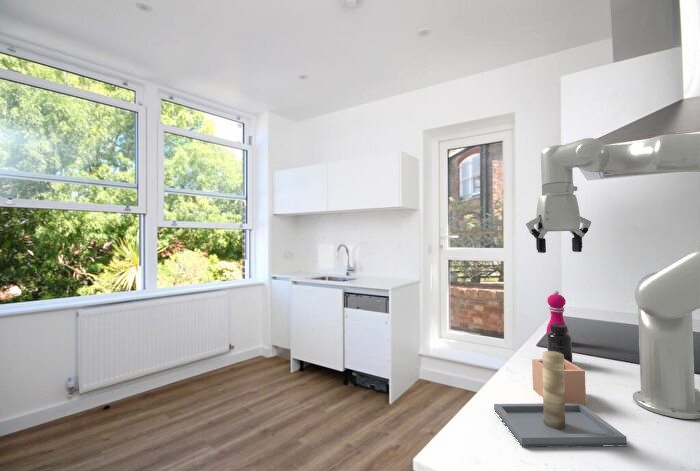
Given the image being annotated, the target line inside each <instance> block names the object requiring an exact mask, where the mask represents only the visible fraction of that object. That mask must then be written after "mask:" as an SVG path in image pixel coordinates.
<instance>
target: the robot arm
mask: <svg viewBox="0 0 700 471" xmlns="http://www.w3.org/2000/svg"><path fill="white" fill-rule="evenodd" d="M540 152H541V153H540V167H541V168H540V171H541V174H540V175H541V196H539V197H538V200H537V207H536V216H535V218H533V219H531V220H530V221H527V222H526V223H525V226H526V227H527V230H528V231H529V232H528V233H530V234H531V235H532V236H533V237H534V239H535V240H536V241H535V242H536V244H535V246H536V250H537V253H540V254H544V253H545V254H546V253H547V246H546V245H547V244H546V241H547V240H546V238H545V236H546V235H547V233H548V232H569V233H570V234H571V235H572V236H573V237H571V251H572V252H573V253H574V252H575V253H581V252H582V250H583V238H584V237H585V235H586V233H588V231H589V229H590V227H591V225H592V221H591V220H589V219H587V218H585V217H582V216H581V214H580V208H579V203H578V199H577V198H578V197H577V196H576V194H574V193H575V192H577V191H578V186H577V185H576V186H575V184H574V178H573V177H574V176H573V175H574V174H573V173H574V172H573V169H574V168H577V169H581V170H583V171H585V172H588V173H653V172H655V173H656V172H657V173H658V172H660V173H662V172H663V173H664V172H668V173H669V172H670V173H671V172H673V173H675V172H677V173H679V172H681V173H682V172H684V173H686V172H687V173H688V172H689V173H690V172H691V173H692V172H693V173H696V172H697V173H700V133H678V134H676V133H675V134H674V133H673V134H660V135H657V136H654V137H651V138H649V139H646V140H644V141H640V142H634V143H626V144H624V143H623V144H603V142H602V141H600V140H599V139H597V138H593V137H585V138H582V139H577V140H575V141H572V142H569V143H566V144H557V145H551V146H548V147H545V148H543V149H542V151H540ZM581 224H582V227H581ZM535 226H536V227H535ZM634 300H635V302H636V305H637V307H638V308H637V309H638V312H637V314H638V346H639V347H638V351H639V373H640V379H639V380H640V390H637V391H635V392H633V394H632V399H633V401H634V402H635V403H636V405H638V406H640V407H641V408H644V409H646V410H648V411H649V412H652V413H656V414H659V415H663V416H666V417H669V418H670V417H671V418H675V419H676V418H677V419H685V420H697V419H698V420H699V419H700V390H699V389H698V388H695V387H696V386H695V385H696V384H695V382H696V381H695V361H694V360H695V359H694V357H695V356H694V355H695V354H694V330H693V327H694V326H693V312H695V311H697V310H698V309H700V245H699V246H697V247H695V248H693V249H691V251H689V252H688V253H687V254H686V255H685V256H683V257H681V258H679V259H678V260H676V261H674V262H673V263H671V264H669V265H667V266H666V267H664V268H663V269H660V270H659V271H654V272H651V273H649V274H646V275H645V276H643V277H642V278H641V279H640V281H639V282H638V284H637V285H636V287H635V290H634Z"/></svg>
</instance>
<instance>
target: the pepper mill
mask: <svg viewBox="0 0 700 471" xmlns="http://www.w3.org/2000/svg"><path fill="white" fill-rule="evenodd" d="M547 304H548V305H549V307H548V308H549V312H550V319H549V322H548V324H547V325H546V326H547V327H546V333H547V334H548V333H550V332H551V331H550V324H563V325H566V326H567V324H566V322H565V320H564V315H563V314H564V312H565V305H566V299H565V297H564V296H563V295H561V294H559V291H558V290H553V294H550V295H549V296H547ZM567 330H568V332H567V334H569V328H568V327H567Z"/></svg>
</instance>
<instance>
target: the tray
mask: <svg viewBox="0 0 700 471" xmlns="http://www.w3.org/2000/svg"><path fill="white" fill-rule="evenodd" d="M494 410H495V412H496V413H497V414H498V415H499V417H500V418H501V419H502V421H503V422H504V423H505V425H506V426H507V427H508V429H509V430H510V431H511V433H512V434H513V435H514V436H513V435H512V434H511V433H510V434H511V435H512V436H513V437H515V438H516V439H517V440H518V441H517V440H516V439H515V438H514V439H515V440H516V441H517V443H518V442H519V443H520V444H519V443H518V444H519V445H520V446H522V447H521V448H524V447H523V446H568V447H569V448H570V447H571V448H573V447H572V446H575V447H576V446H591V447H604V446H603V445H628V444H627V443H628V440H627V439H628V437H627V436H626V435H625V434H624V433H622V432H621V431H619V430H618V429H617V428H615V427H614V426H613V425H611V424H610V423H609V422H607V420H605V419H603V418H602V417H600V416H599V415H597V414H596V413H595V412H594V411H592V410H591V409H589V408H588V407H587V406H586V405H585V404H581V403H565V428H564V429H554V428H551V427H548V426H546V425H545V424H544V414H543V402H541V403H494V404H493V411H494ZM495 412H494V413H495ZM496 413H495V414H496ZM499 417H498V418H499ZM500 418H499V419H500ZM502 421H501V422H502ZM503 422H502V423H503ZM505 425H504V426H505ZM506 426H505V427H506ZM507 427H506V428H507ZM508 429H507V430H508ZM509 430H508V431H509ZM510 431H509V432H510ZM568 447H567V448H568ZM575 447H574V448H575Z"/></svg>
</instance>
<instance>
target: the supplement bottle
mask: <svg viewBox="0 0 700 471" xmlns="http://www.w3.org/2000/svg"><path fill="white" fill-rule="evenodd" d="M567 328H568V325H567V324H566V325H563V324H550V331H551V332H550V333H547V334H546V343H547V344H546V345H547V351H554V352H559V353H562V354H563V355H564V359H565V360H567V361H569V362H571V363H572V364H573V346H572V345H573V344H572V342H573V340H572V336H571V335H570V334H569V329H568V330H567ZM567 332H568V334H567Z"/></svg>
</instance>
